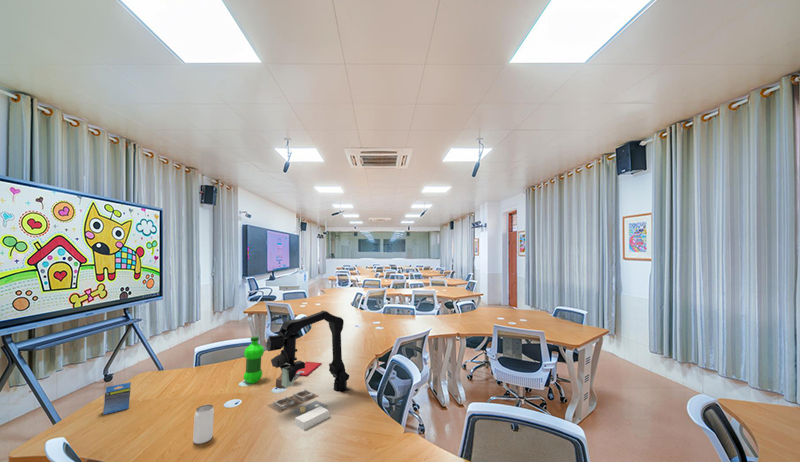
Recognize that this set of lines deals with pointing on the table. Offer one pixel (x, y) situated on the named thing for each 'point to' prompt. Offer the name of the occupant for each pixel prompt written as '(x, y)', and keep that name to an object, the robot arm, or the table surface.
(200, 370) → the table surface
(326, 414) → the cover
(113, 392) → the label tape box
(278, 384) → the wooden block
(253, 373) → the plastic bottle
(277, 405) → the build board
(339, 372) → the robot arm
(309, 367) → the red board with handle
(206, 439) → the can
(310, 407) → the board
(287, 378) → the peg
